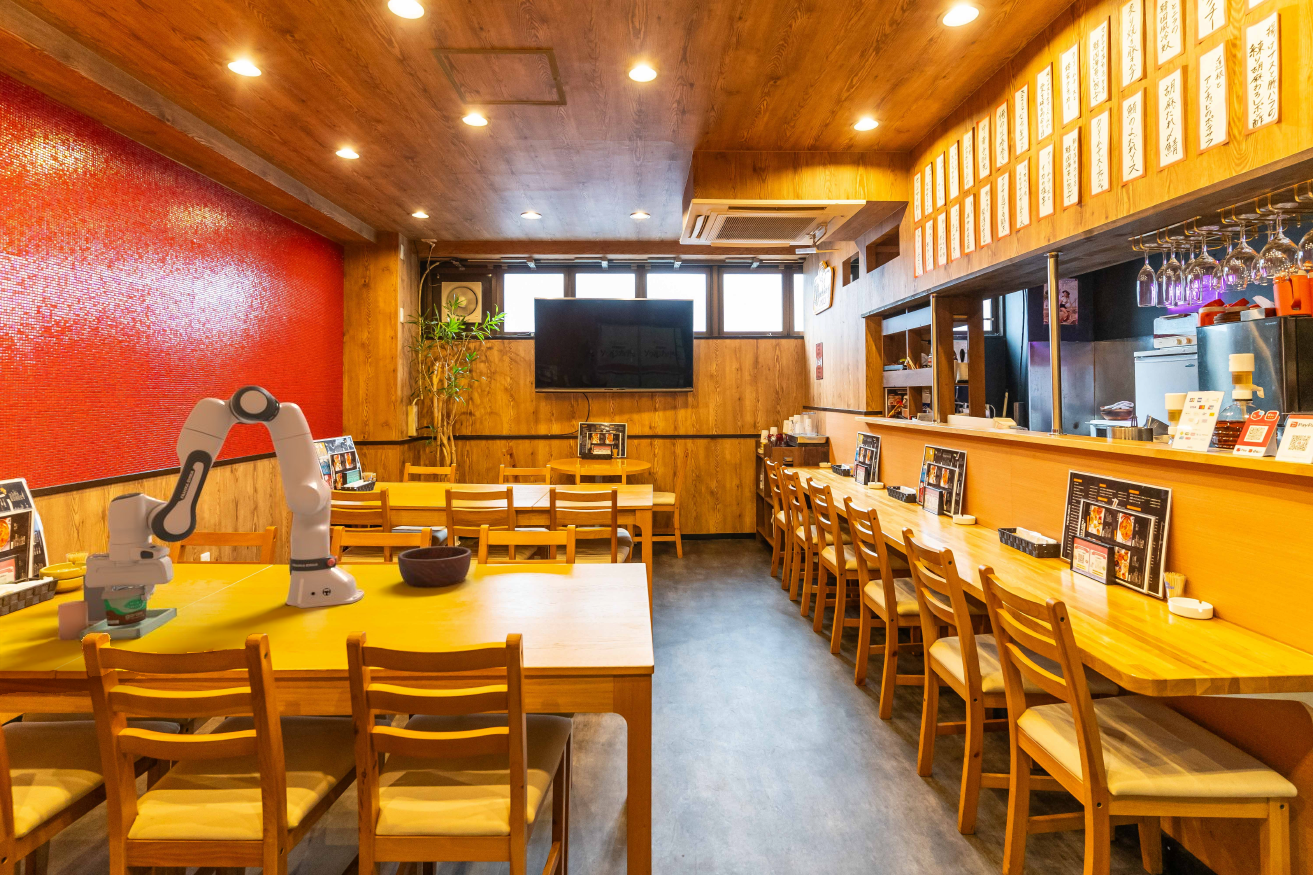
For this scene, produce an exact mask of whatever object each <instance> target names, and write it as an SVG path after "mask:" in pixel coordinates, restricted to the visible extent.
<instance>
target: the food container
mask: <svg viewBox="0 0 1313 875" xmlns="http://www.w3.org/2000/svg"><path fill="white" fill-rule="evenodd" d="M146 591H147V589H145V585H136V586H131V587H124V588H121V589H119V590H116V591H103V593H102V597H101V599H104V604H105V611H106V618H107V625H108V626H123V625H129V624H134V623H138V622H141V621H143V620H145V619H146V609H148V608H147V607H148V606H147V605H148V601H141V599H142V598H141V595H142V594H145V593H146Z"/></svg>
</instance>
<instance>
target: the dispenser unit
mask: <svg viewBox="0 0 1313 875" xmlns="http://www.w3.org/2000/svg"><path fill="white" fill-rule="evenodd" d="M85 576H86V573H85V574H83V575H82V582H83V584H82V585H83V586H82V587H83V601H88V626H90V625H91V626H93V625H95V624H97V623H99V622H101V621H103V620H105V619H107V618H106V611H105V604H104V599H101V597H102V593H103V591H105V587H94V588H89V587H87V586H86V585H85ZM124 587H131V586H115V589H113V590H114V591H116V590H119V589H121V588H124Z"/></svg>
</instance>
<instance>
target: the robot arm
mask: <svg viewBox="0 0 1313 875" xmlns="http://www.w3.org/2000/svg"><path fill="white" fill-rule="evenodd" d="M259 423H261V424H263V425H265V427H266V428H267V429H268V432H269V434H270V438H271V441H272V444H273V448H274V451H275V455H276V458H277V462H278V464H279V469H280V475H281V482H282V488H283V492H284V497H285V502H286V506H287V508H288V509H289V510H290V511H291V512H292V521H291V528H290V529H291V530H290V557H289V563H288V565H289V568H288V569H289V576H290V582H289V590H288V593H287V598H286V601H285V604H286V605H289V606H294V607H298V608H299V609H307V608H314V607H315V608H316V607H317V608H318V607H325V606H326V607H327V606H335V605H345V604H352V603H353V604H354V603H356V602H358V601H360V600H361V599H362V598H364V596H365V592H364V590H363V589H359V588H358V587H357V582H356V580H355V577H354V576H353V575H352V574H350V573H349V572H347V571H345V570H344V569H342V568H341V567H339V566H337V565H338V564H337V563H338V555H335V556H334V555H332V554H331V552H330V548H331V547H330V546H331V545H330V544H331V543H330V541H331V540H330V539H331V537H330V529H331V528H330V527H331V512H332V490H331V486H330V484H328V482H327V481H326V480H324V479H323V478H322V475H321V474H322V473H321V470H320V464H319V456H318V453H317V448H316V445H315V442H314V439H313V436H312V433H311V430H310V427H309V423H308V422H307V418H306V417H305V415H304V413H303V411H302V409H301V408H300V406H299V405H297V404H296V403H293V402H279V401H278V399H276V397H275V396H273V395H272V394H271V393H270V392H269V391H268V390H267V389H265V388H264V387H261V386H259V385H253V384H252V385H245V386H242V387H241V388H238V389H237V390H236V391H235V392H234V393H233V394H232V396H230V398H228V399H226V400H224V399H223V400H222V399H219V398H215V397H206V398H202V399H200V400H199V401H198V402H197V403H196V404H195V406H194V407H193V409H191V412H190V413H189V415H188V417H187V418H186V420H185V422H184V424H183V426H182V428H181V431H180V433H179V436H178V439H177V443H176V449H175V451H176V455H177V457H178V460H179V463H180V472H179V476H178V478H177V480H176V484H175V486H174V489H173V491H172V494H171V496H170V499H169V500H168V501H165V500H160V499H157V498H154V497H151V496H149V495H146V494H145V493H144V492H130V493H126V494H120V495H119V496H116V497H113V499H111V501H110V502H109V504H108V509H107V510H108V511H107V530H108V532H109V539H108V543H107V545H108V552H103V553H102V552H101V553H99V552H95V553H91V554H90V555H88V556H87V557H86V559H85V567H86V570H85V574H86V576H85V585H86V586H87V587H89V588H94V587H105V591H114V590H113V589H115V586H136V585H145V589H147V591H146V593H145V594H142V595H141V598H142V599H141V601H147V602H148V601H150V600H151V595H150V593H151V592H152V590H153V589H154V587H155V588H156V586H157V585H167V584H168V583H171V581H172V580H173V578H174V568H173V562H172V559H171V558H170V557H169V556H167V555H169V553H170V549H169V548H168V547H167V546H163V545H159V544H155V543H149V536H151V535H152V536H155V537H156V538H157V539H159V540H160V541H162V542H165V543H178V542H182V541H184V540H186V539H187V538H189V537H190V536H192V534H193V532H194V531H195V529H196V527H197V505H198V502H199V499H200V496H201V494H202V491H203V489H204V486H205V483H206V480H207V478H208V475H209V472H210V470H211V468H212V467H213V464H214V463H215V461H216V459H217V457H218V455H219V453H220V452H221V449H222V447H223V445H224V443H225V441H226V438H227V436H228V434H229V432H230V430H231V428H232V427H233V426H234V425H235V424H237V425H254V424H259ZM357 588H358V589H357Z"/></svg>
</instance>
